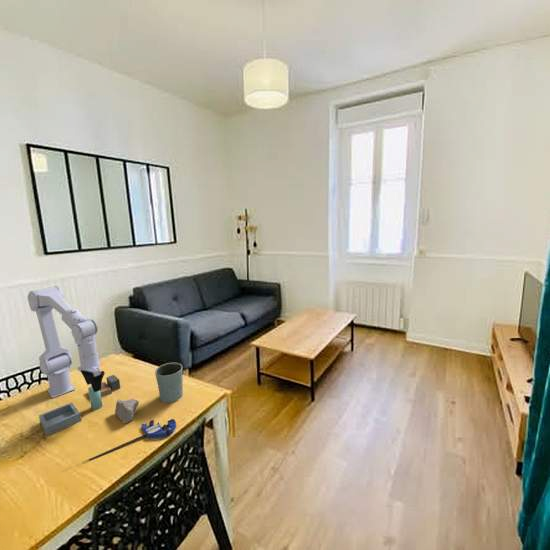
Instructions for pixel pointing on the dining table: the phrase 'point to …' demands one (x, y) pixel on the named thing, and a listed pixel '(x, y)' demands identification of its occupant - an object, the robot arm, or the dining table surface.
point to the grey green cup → (169, 382)
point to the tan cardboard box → (105, 389)
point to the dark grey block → (113, 382)
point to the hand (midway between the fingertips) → (93, 387)
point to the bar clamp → (148, 434)
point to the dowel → (95, 399)
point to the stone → (126, 409)
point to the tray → (59, 418)
